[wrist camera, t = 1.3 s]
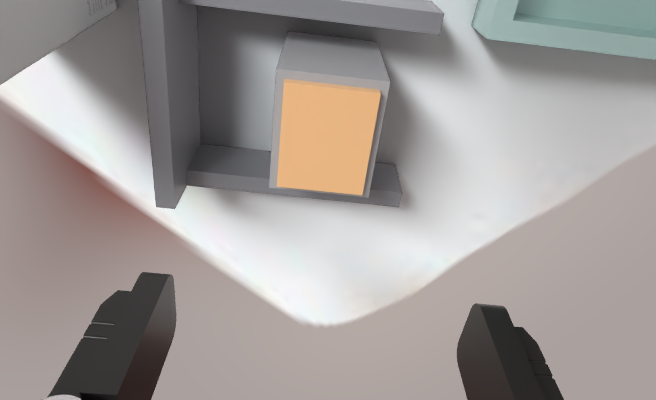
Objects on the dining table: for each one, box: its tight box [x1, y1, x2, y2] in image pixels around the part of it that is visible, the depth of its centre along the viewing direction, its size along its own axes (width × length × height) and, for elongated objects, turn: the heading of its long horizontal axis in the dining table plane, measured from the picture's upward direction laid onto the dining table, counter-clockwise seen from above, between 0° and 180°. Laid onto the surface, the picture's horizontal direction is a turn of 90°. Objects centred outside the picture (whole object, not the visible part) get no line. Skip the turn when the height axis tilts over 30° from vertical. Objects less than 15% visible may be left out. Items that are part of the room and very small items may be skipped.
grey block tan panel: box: [269, 31, 390, 198], centre depth 25 cm, size 6×5×8 cm
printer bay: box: [138, 0, 444, 209], centre depth 25 cm, size 11×14×6 cm
